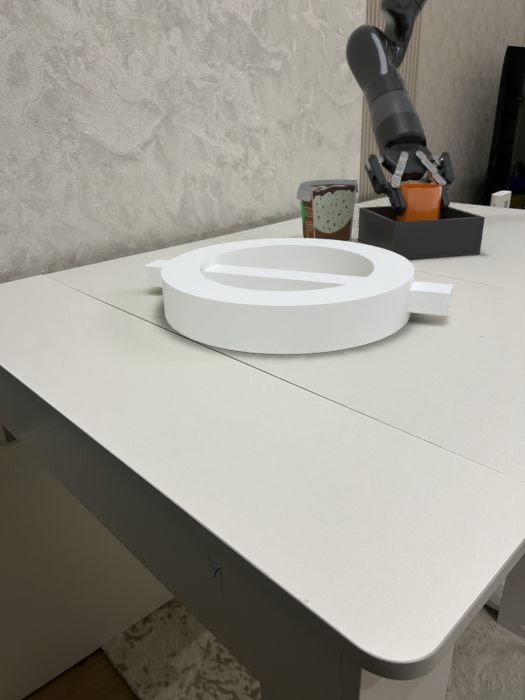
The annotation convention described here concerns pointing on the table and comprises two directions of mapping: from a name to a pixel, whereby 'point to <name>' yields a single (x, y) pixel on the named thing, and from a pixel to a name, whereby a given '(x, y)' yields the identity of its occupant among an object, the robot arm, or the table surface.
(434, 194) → the drinking cup
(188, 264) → the ring with crossbar
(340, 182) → the food container
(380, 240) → the basket
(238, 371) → the table surface
